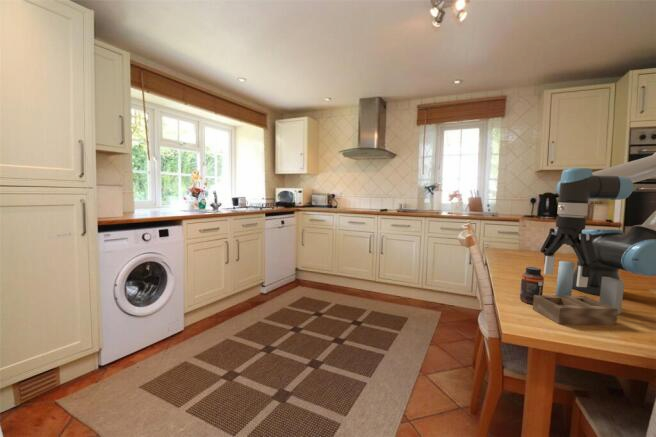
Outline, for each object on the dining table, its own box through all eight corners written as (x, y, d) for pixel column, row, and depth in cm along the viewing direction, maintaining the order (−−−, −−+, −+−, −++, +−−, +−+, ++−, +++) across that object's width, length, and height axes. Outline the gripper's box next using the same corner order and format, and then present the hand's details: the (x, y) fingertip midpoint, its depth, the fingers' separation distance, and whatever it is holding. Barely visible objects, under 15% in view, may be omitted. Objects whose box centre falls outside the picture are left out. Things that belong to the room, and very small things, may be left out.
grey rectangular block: (604, 307, 94) (608, 276, 93) (620, 314, 89) (624, 281, 88) (598, 307, 94) (602, 276, 93) (614, 314, 89) (617, 281, 88)
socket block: (583, 310, 91) (585, 296, 91) (615, 324, 82) (617, 308, 81) (532, 309, 91) (533, 295, 91) (558, 323, 81) (560, 307, 81)
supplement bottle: (545, 306, 94) (548, 271, 93) (524, 304, 95) (527, 269, 94) (536, 299, 100) (539, 266, 99) (516, 297, 101) (519, 265, 100)
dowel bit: (563, 298, 101) (567, 261, 100) (573, 303, 97) (577, 264, 96) (552, 298, 101) (556, 260, 100) (561, 302, 97) (565, 263, 96)
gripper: (532, 212, 109) (526, 269, 111) (595, 219, 84) (585, 292, 86) (552, 213, 109) (546, 270, 111) (620, 220, 85) (611, 293, 86)
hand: (563, 280), depth 99 cm, fingers open, 13 cm apart
